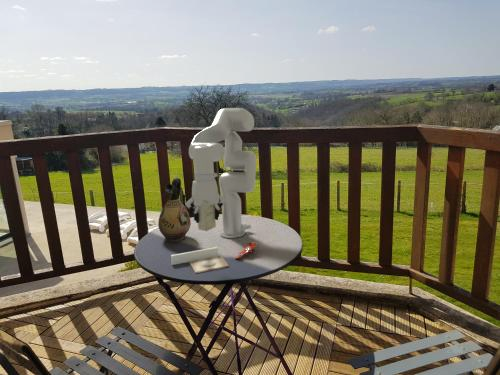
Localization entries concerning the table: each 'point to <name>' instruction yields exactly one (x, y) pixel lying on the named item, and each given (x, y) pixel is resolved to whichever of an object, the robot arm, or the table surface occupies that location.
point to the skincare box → (206, 216)
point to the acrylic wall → (194, 255)
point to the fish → (247, 248)
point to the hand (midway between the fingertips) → (206, 220)
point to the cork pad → (208, 264)
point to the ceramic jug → (174, 215)
